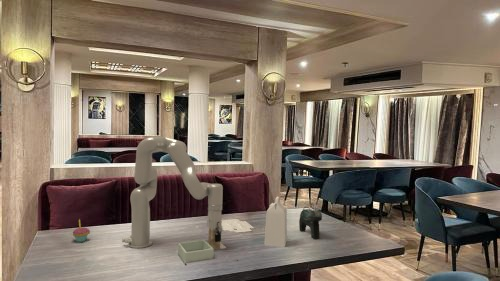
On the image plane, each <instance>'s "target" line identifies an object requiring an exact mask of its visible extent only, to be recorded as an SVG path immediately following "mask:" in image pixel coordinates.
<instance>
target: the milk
mask: <svg viewBox="0 0 500 281" xmlns="http://www.w3.org/2000/svg"><path fill="white" fill-rule="evenodd" d="M268 206H269V207H268V209H267V210H266V216H265V229H264V243H263V244H264V245H263V246H268V247H269V246H270V247H279V248H280V247H281V248H285V247H286V243H287V239H288V238H287V237H288V229H287V228H288V227H287V225H288V224H287V222H288V221H287V220H288V219H287V217H288V216H287V215H288V214H287V213H288V212H287V208H286V207H285V205H284V204H282V202H281V201H280V196H276V197H275V200H274V202H271V203H270V205H268Z"/></svg>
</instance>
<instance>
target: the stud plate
mask: <svg viewBox="0 0 500 281" xmlns="http://www.w3.org/2000/svg"><path fill="white" fill-rule="evenodd" d="M213 249H214V250H221V249H222V250H223V249H227V246H225V245H224V244H223V243H222V241H221V242H220V247H216V248H213Z"/></svg>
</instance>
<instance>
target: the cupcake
mask: <svg viewBox="0 0 500 281" xmlns="http://www.w3.org/2000/svg"><path fill="white" fill-rule="evenodd" d="M78 226H79V227H77V228H75V229H73V231H72V236H73V237H74V238H75V241H76V242H79V243H81V242H82V243H83V242H85V241H86V240H87V238H88V235H90V233H91V230H90V229H89V228H87V227H82V224H81V219H78Z"/></svg>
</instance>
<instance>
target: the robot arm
mask: <svg viewBox="0 0 500 281" xmlns="http://www.w3.org/2000/svg"><path fill="white" fill-rule="evenodd" d="M159 152H162V153H166V154H168V156H169V157H170V158H171V161H172V162H173V163H174V165H175V166H176V168H177V169H178V171H179V172H180V177H181V179H182V182H183V183H184V186H185V188H186V189H187V190H188V192H189V193H190V195H191V196H192V197H193V198H194V199H196V200H199V201H200V200H203V199H204V198H205V197H207V196H208V202H207V204H208V206H207V211H208V212H207V224H206V225H207V226H208V228H209V227H210V228H211V229H212V230H215V233H216V234H215V242H220V241H221V242H222V230H223V229H222V220H223V218H222V211H223V197H224V196H223V192H224V191H223V190H224V187H223V185H222V184H221V183H209V182H203V181H202V182H201V181H200V180H199V179H198V176H197V174H196V171H195V163H194V161H193V160H192V158H191V157H190V155H189V154H188V153H187V152H188V147H187V145H186V144H185V142H183V141H181V140H177V139H173V138H170V137H166V136H163V135H162V136H161V135H159V136H157V135H156V136H150V137H146V138H145V139H142V140H141V141H140V142H139V143H138V145H137V147H136V154H135V157H136V158H135V163H134V164H135V166H134V175H133V176H134V182H135V183H136V184H138V185H139V186H138V187H136V188H134V189H133V190H132V191H131V193H130V198H129V199H130V206H131V231H130V232H131V235H129V236H128V237H125V238H123V237H122V239H121V242H122V243H125V244H128V246H127V247H130V248H132V249H145V248H149V247H150V246H152V245H153V240H152V239H151V238H150V234H151V231H150V230H151V228H150V227H151V208H150V201H151V200H153V199H154V198H155V196H156V194H157V185H158V171H157V169H156V167H154V166H153V153H159ZM217 230H218V231H217Z"/></svg>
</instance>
